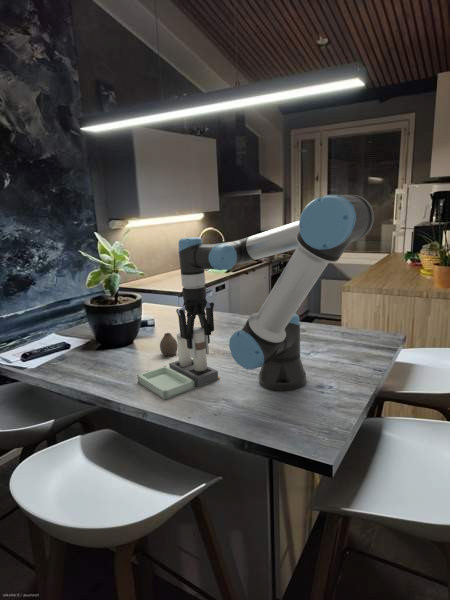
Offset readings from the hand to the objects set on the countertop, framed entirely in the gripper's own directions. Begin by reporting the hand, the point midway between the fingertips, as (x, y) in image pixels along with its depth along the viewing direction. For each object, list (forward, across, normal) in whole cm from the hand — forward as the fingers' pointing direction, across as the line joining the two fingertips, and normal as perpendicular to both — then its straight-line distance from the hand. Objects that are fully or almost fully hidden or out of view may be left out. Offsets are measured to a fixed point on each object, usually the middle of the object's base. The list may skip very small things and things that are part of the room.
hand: (199, 355), depth 135 cm
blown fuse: (+5, 0, 0) cm, 5 cm away
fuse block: (+9, 0, -5) cm, 10 cm away
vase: (+9, -5, -29) cm, 30 cm away
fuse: (+8, 0, -9) cm, 13 cm away
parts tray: (+8, +11, -5) cm, 15 cm away
